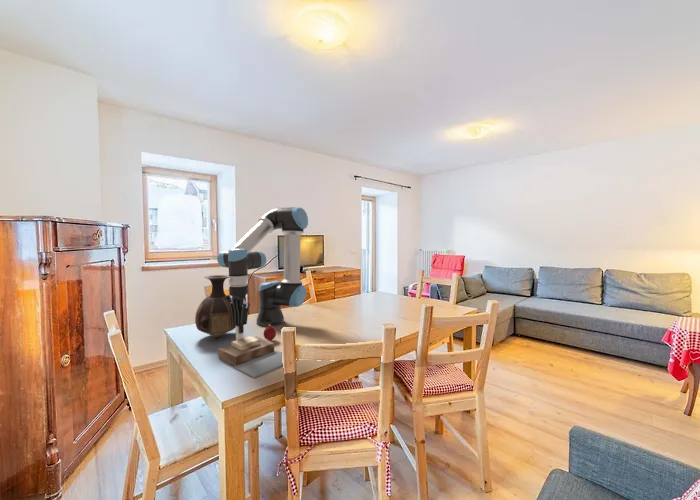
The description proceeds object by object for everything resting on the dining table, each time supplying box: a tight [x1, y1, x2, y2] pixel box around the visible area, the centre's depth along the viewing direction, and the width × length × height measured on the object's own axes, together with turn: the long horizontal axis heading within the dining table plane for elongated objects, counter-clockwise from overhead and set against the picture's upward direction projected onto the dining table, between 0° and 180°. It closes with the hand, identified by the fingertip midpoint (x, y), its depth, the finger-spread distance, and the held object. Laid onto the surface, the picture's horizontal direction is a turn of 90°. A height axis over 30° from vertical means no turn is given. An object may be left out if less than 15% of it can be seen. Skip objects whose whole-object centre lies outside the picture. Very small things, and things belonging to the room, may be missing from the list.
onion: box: [263, 324, 277, 342], centre depth 144 cm, size 6×6×8 cm
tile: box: [230, 335, 260, 350], centre depth 129 cm, size 9×7×2 cm
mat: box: [233, 350, 284, 379], centre depth 120 cm, size 20×13×1 cm, turn 141°
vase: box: [194, 274, 236, 338], centre depth 150 cm, size 23×19×30 cm
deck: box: [217, 336, 275, 367], centre depth 128 cm, size 18×13×4 cm
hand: (239, 340), depth 131 cm, fingers closed
